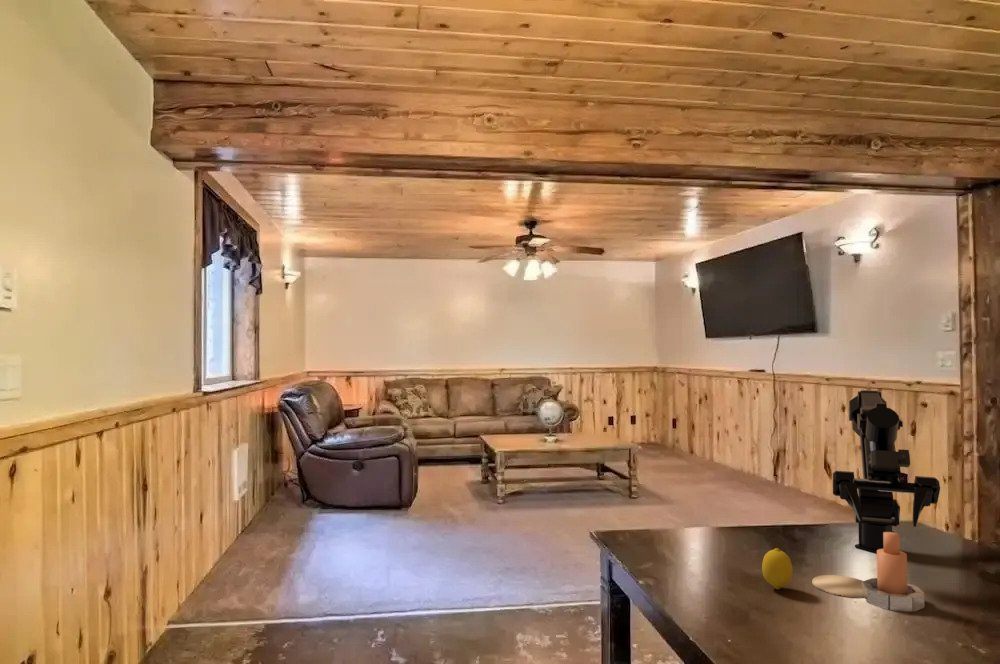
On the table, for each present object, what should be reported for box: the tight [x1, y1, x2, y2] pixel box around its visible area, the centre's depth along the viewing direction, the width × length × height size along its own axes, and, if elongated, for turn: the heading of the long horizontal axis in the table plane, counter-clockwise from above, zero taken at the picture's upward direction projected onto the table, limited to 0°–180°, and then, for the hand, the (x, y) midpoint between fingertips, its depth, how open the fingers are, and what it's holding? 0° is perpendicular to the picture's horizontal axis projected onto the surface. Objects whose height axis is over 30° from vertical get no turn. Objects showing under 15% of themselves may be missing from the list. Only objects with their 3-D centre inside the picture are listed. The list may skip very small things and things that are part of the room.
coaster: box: [811, 574, 864, 598], centre depth 130 cm, size 11×11×1 cm
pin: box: [876, 531, 908, 595], centre depth 122 cm, size 5×5×12 cm
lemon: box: [761, 547, 794, 590], centre depth 129 cm, size 6×6×8 cm
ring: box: [862, 577, 926, 613], centre depth 122 cm, size 9×9×2 cm
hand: (887, 523), depth 129 cm, fingers open, 9 cm apart
